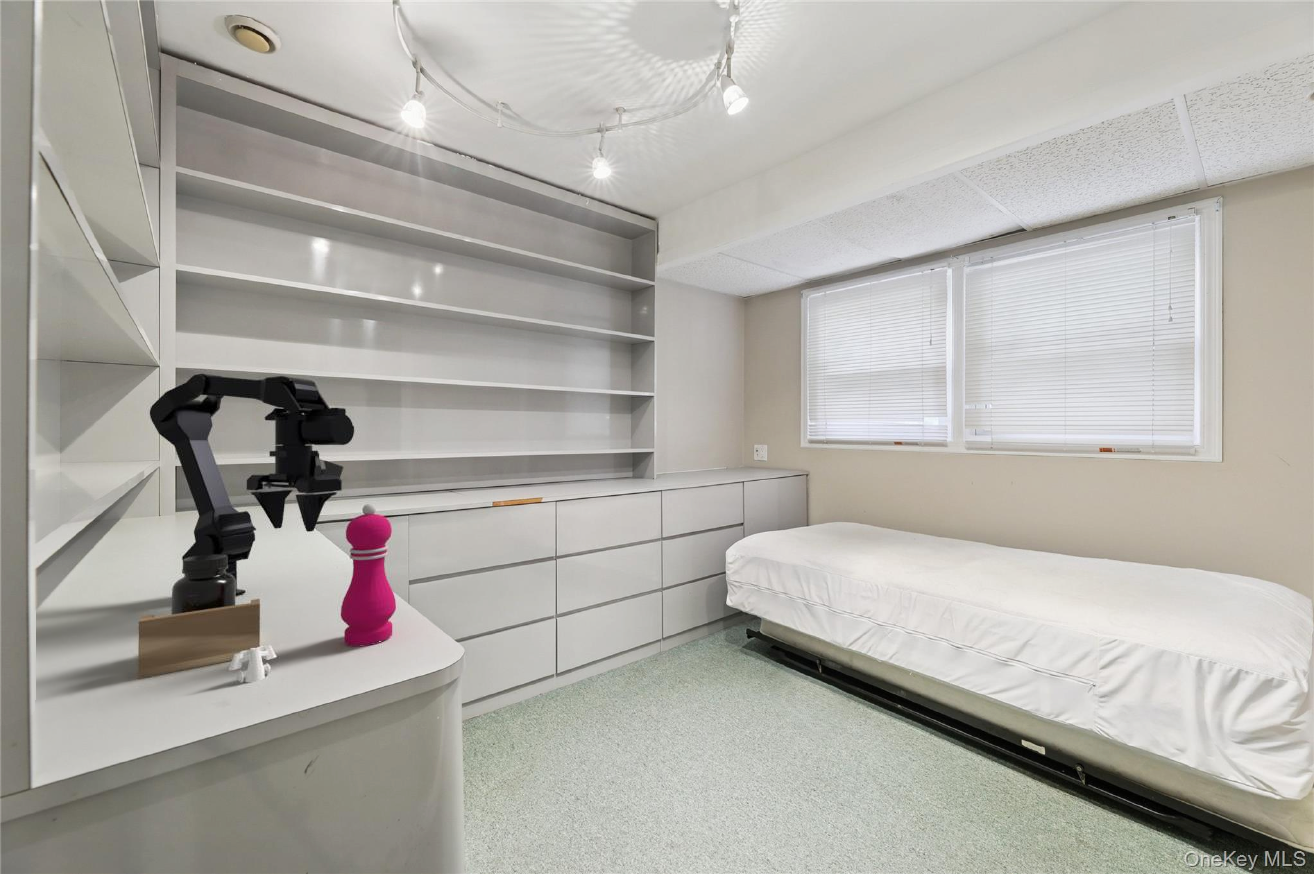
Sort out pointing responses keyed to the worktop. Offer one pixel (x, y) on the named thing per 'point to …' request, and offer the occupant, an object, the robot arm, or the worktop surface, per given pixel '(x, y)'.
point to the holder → (196, 638)
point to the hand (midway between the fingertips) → (293, 529)
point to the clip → (253, 663)
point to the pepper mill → (368, 581)
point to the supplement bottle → (204, 585)
